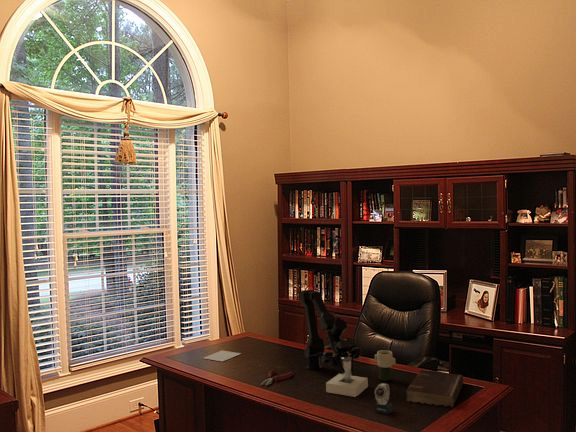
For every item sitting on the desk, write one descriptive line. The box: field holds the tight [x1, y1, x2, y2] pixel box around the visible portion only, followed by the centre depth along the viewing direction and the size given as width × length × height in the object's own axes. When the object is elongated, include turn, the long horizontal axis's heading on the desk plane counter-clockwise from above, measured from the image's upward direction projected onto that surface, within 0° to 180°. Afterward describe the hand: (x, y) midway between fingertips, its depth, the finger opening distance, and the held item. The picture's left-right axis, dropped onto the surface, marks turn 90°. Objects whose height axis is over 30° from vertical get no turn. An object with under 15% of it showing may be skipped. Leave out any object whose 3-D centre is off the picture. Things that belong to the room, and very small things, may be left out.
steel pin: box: [340, 356, 352, 384], centre depth 238 cm, size 5×5×13 cm
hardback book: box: [405, 369, 464, 408], centre depth 232 cm, size 29×19×5 cm, turn 154°
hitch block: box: [325, 373, 369, 398], centre depth 238 cm, size 14×14×4 cm
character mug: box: [374, 349, 396, 382], centre depth 249 cm, size 11×7×13 cm, turn 48°
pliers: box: [259, 368, 294, 387], centre depth 254 cm, size 12×20×3 cm, turn 153°
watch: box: [374, 382, 393, 415], centre depth 212 cm, size 6×8×11 cm
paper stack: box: [203, 350, 242, 362], centre depth 289 cm, size 23×25×1 cm
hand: (348, 372), depth 237 cm, fingers closed on steel pin, 4 cm apart
